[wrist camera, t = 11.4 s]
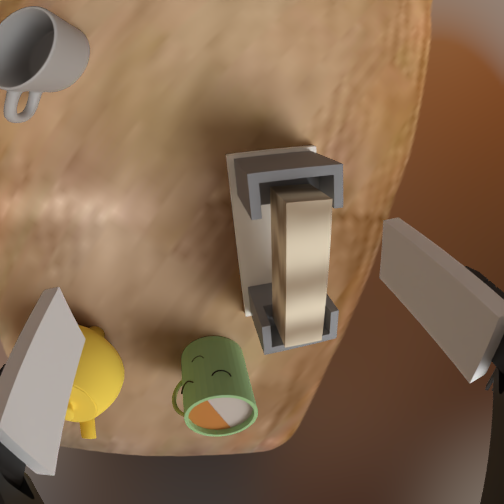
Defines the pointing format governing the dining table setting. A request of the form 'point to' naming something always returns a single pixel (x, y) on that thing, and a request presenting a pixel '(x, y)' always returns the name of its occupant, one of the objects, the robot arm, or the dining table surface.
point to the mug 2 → (215, 388)
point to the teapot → (94, 381)
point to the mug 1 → (38, 58)
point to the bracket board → (259, 225)
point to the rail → (299, 261)
